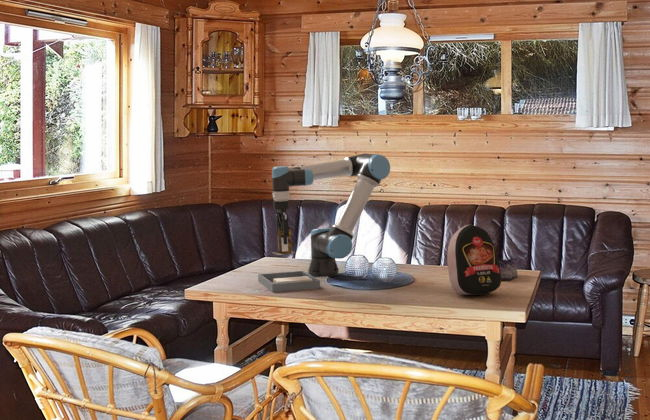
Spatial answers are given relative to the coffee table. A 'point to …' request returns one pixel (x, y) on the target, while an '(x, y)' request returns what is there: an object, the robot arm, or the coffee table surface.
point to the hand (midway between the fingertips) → (283, 249)
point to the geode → (508, 269)
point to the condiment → (281, 243)
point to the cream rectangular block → (291, 279)
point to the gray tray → (279, 287)
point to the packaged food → (473, 262)
